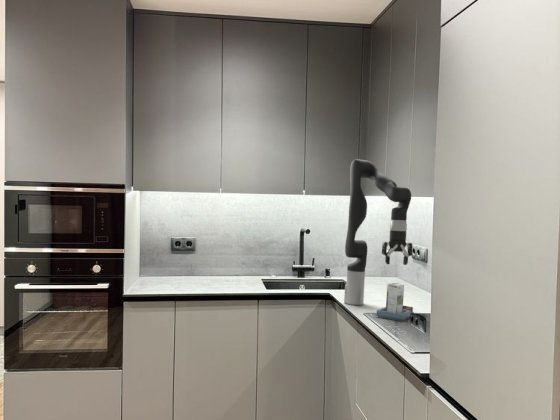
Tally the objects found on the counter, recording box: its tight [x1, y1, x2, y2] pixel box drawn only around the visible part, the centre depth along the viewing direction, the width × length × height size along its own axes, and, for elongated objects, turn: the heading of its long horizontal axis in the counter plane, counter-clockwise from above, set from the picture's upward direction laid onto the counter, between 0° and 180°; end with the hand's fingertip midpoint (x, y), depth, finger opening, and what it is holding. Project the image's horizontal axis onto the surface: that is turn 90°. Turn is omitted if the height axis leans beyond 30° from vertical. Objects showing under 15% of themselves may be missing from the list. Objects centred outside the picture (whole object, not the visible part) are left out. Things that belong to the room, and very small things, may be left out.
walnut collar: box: [403, 305, 414, 314], centre depth 226 cm, size 10×10×2 cm
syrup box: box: [385, 282, 405, 314], centre depth 214 cm, size 6×6×14 cm
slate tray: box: [375, 306, 412, 322], centre depth 214 cm, size 12×12×3 cm
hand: (396, 264), depth 216 cm, fingers open, 8 cm apart
